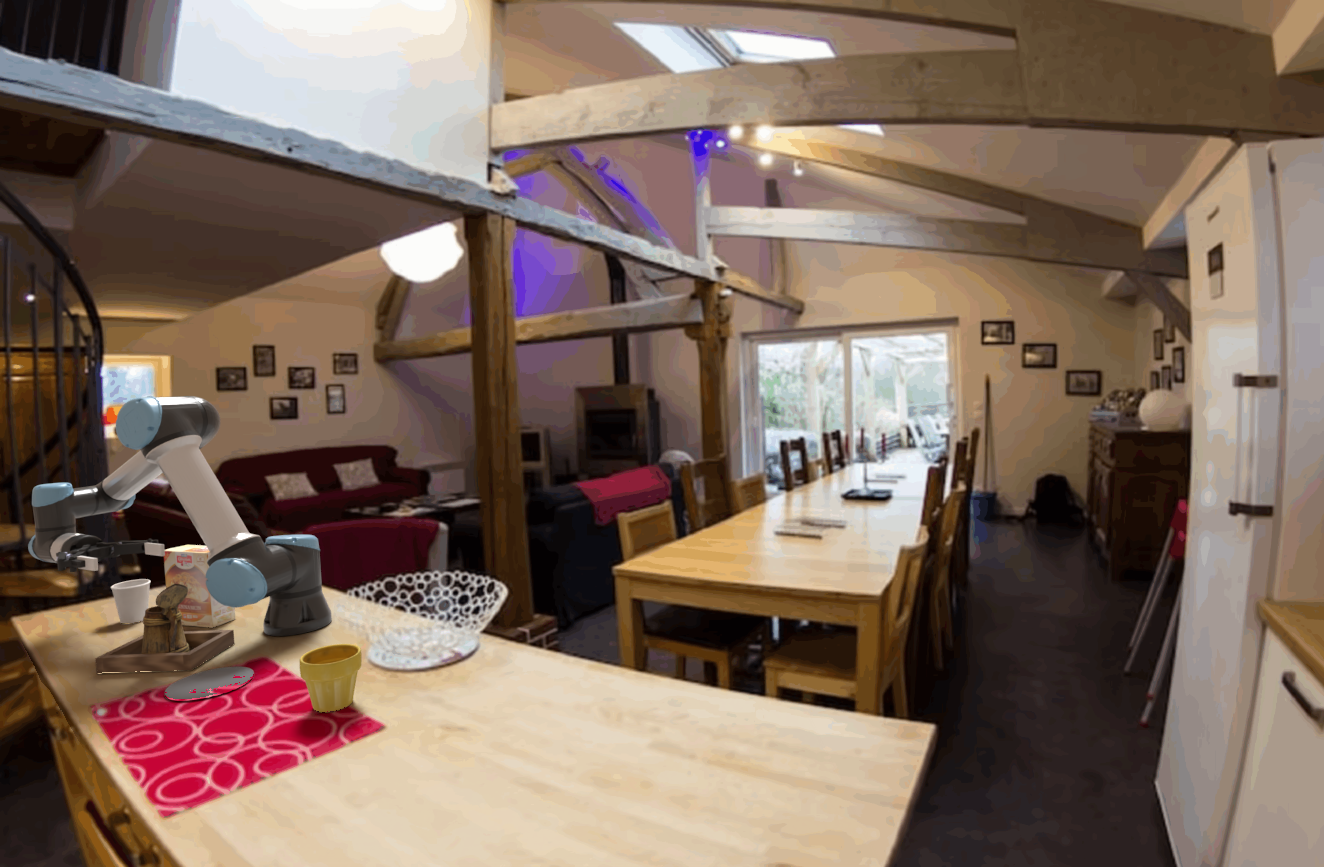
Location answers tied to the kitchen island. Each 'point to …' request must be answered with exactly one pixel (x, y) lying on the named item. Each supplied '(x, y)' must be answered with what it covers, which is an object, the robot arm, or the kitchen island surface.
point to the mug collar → (166, 654)
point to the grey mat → (207, 682)
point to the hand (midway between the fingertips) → (130, 557)
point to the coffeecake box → (195, 587)
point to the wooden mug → (165, 623)
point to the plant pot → (331, 675)
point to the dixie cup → (131, 599)
